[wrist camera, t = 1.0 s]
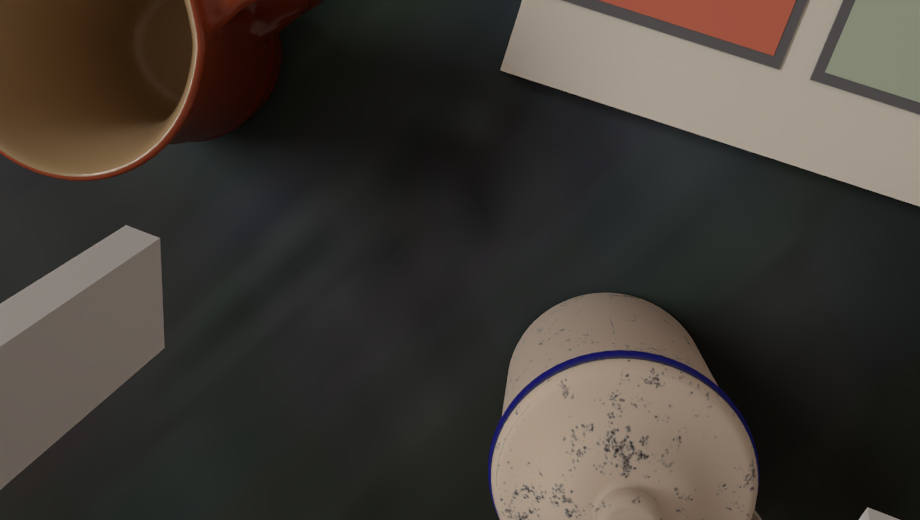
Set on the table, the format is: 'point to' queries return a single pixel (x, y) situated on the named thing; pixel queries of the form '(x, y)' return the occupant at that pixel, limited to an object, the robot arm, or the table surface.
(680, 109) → the picture board
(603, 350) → the teacup with lid
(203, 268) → the table surface
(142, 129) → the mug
